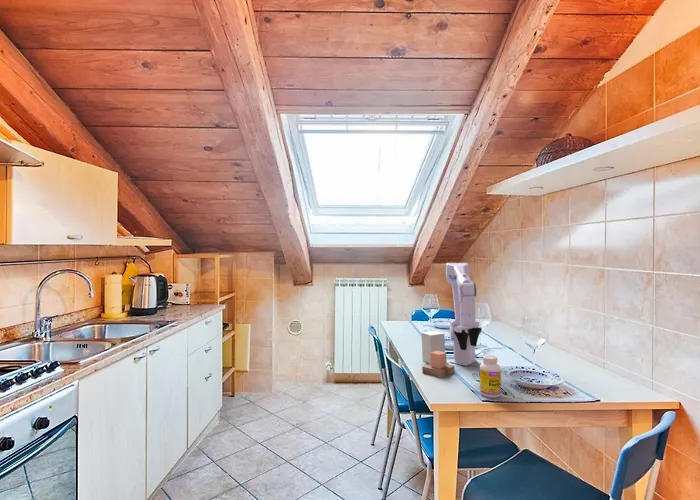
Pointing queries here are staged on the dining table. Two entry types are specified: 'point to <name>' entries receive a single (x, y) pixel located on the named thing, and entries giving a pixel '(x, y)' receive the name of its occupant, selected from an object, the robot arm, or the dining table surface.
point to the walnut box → (438, 370)
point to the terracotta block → (438, 359)
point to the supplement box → (432, 344)
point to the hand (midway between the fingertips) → (468, 347)
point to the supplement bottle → (490, 377)
